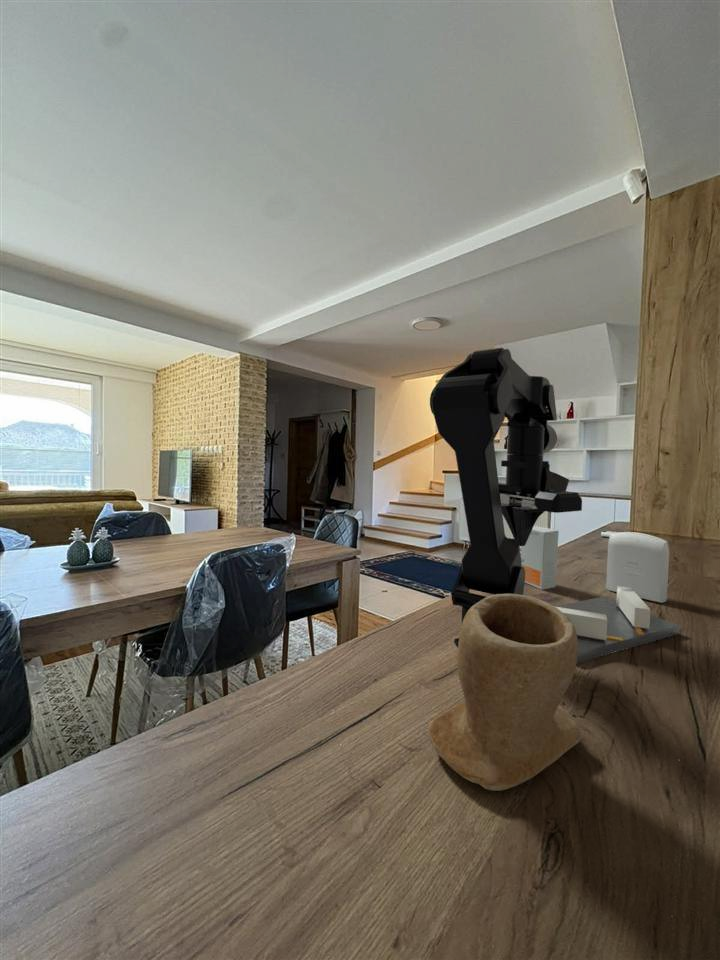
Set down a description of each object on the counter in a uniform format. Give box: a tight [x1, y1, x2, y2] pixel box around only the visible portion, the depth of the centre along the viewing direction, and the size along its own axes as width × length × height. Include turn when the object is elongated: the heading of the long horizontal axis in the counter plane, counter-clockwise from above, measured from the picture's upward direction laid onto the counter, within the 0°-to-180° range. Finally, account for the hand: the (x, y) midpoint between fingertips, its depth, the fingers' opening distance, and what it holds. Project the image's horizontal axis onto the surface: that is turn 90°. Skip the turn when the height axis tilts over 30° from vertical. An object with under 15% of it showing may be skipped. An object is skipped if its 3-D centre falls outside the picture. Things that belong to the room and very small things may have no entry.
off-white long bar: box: [615, 586, 652, 629], centre depth 68 cm, size 10×2×3 cm, turn 162°
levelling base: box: [554, 596, 680, 665], centre depth 66 cm, size 23×13×3 cm, turn 113°
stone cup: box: [427, 594, 584, 792], centre depth 39 cm, size 15×12×15 cm
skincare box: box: [520, 525, 560, 591], centre depth 87 cm, size 6×4×12 cm
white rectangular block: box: [556, 607, 607, 640], centre depth 62 cm, size 10×2×3 cm, turn 65°
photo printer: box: [605, 531, 670, 604], centre depth 82 cm, size 10×4×12 cm, turn 39°
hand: (521, 545), depth 72 cm, fingers closed
